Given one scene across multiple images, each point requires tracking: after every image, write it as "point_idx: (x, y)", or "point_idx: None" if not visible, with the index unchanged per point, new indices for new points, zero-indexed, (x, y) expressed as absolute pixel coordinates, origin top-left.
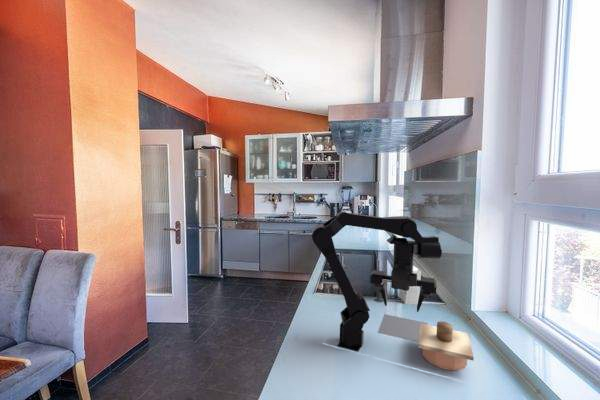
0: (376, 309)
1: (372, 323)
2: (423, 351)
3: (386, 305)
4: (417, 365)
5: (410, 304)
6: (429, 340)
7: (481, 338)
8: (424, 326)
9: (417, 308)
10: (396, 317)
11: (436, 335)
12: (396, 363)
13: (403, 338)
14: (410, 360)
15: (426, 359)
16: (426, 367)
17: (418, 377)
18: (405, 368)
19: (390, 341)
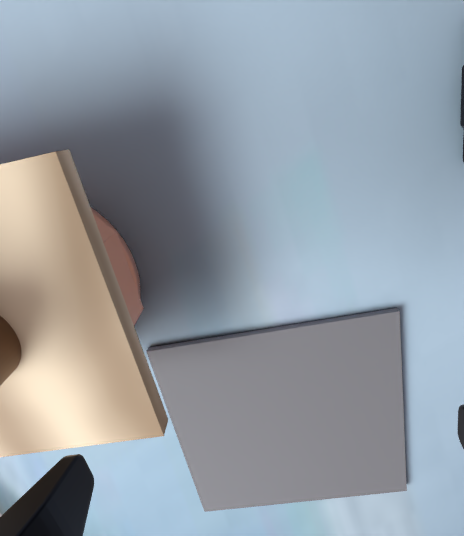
0: (456, 513)
1: (448, 386)
2: (104, 235)
3: (459, 415)
4: (116, 137)
5: None
6: (24, 257)
7: (3, 506)
8: (128, 413)
9: (45, 490)
10: (343, 490)
11: (23, 349)
12: (215, 71)
13: (257, 333)
14: (162, 160)
15: (95, 214)
16: (75, 151)
17: (67, 15)
18: (156, 56)
19: (311, 274)
